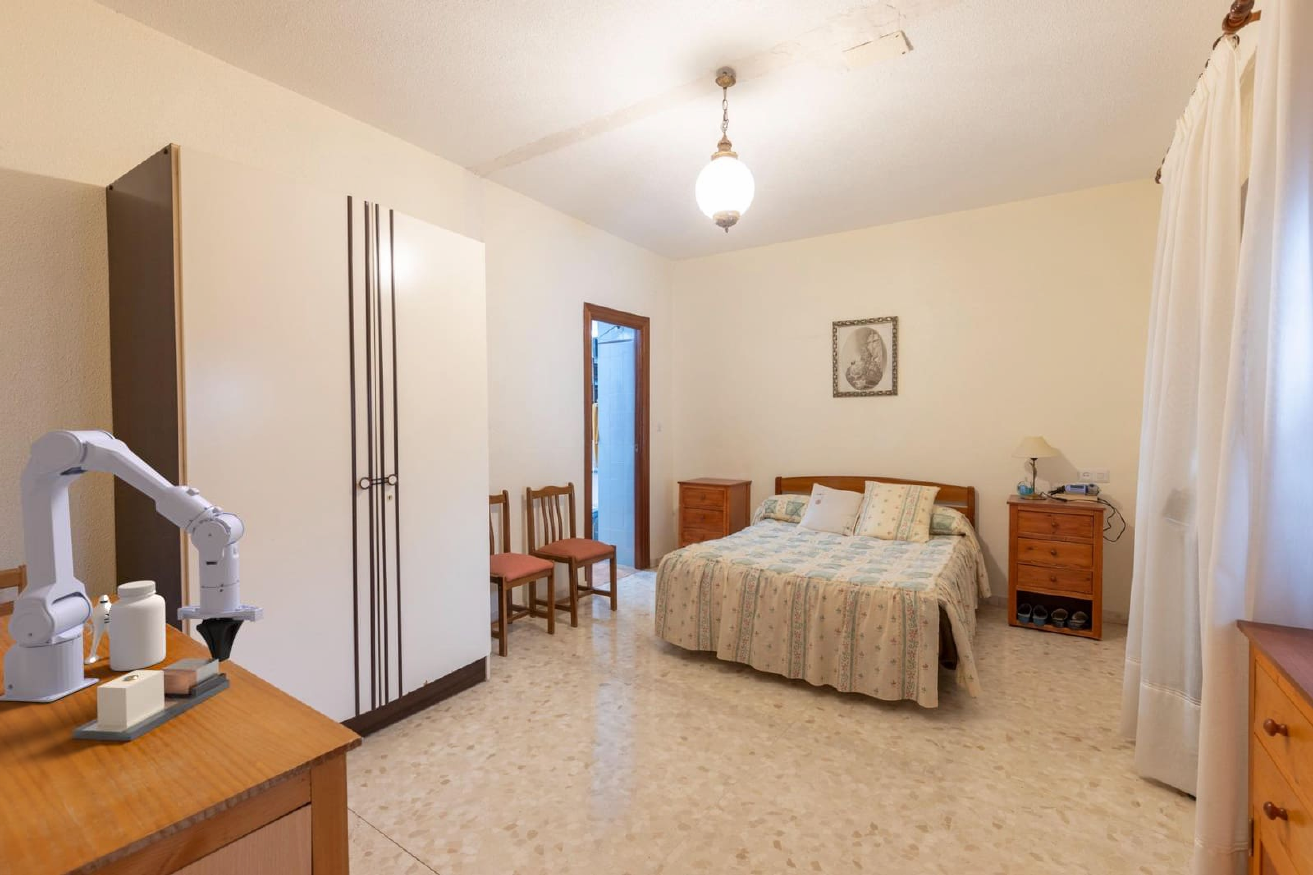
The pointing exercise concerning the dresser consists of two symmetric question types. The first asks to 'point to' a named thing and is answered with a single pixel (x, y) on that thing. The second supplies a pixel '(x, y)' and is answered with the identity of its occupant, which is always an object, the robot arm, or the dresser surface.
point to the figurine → (98, 625)
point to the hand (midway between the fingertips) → (221, 660)
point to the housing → (130, 697)
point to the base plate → (154, 713)
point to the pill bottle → (137, 627)
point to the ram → (189, 674)
